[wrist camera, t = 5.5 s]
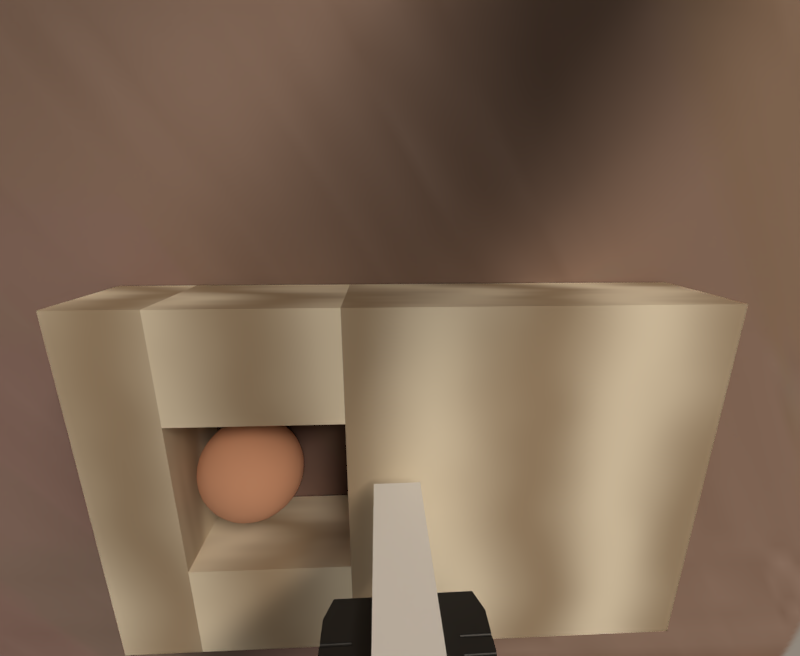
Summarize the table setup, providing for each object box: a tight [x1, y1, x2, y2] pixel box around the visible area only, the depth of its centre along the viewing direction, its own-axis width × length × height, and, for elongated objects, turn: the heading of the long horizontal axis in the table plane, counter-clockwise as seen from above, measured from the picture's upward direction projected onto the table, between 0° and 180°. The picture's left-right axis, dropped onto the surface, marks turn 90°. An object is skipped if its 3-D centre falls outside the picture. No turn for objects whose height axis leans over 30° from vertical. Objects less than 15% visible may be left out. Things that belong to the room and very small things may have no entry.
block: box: [36, 282, 748, 655], centre depth 17 cm, size 22×14×4 cm, turn 90°
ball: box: [196, 426, 304, 523], centre depth 16 cm, size 4×4×4 cm
